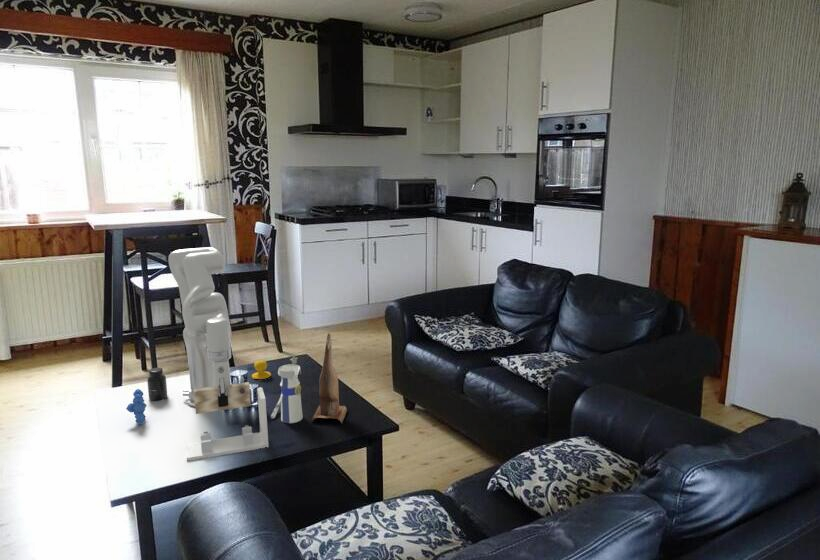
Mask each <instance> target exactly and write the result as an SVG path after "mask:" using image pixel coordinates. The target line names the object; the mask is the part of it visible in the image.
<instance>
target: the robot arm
mask: <svg viewBox="0 0 820 560" xmlns="http://www.w3.org/2000/svg"><path fill="white" fill-rule="evenodd" d="M167 262H168V267H169V269H170V272H171V275H172V276H173V279H174V280H175V282H176V284H177V286H178V290H179V296H180V301H181V306H182V308H181V309H182V311H181V313H182V319H183V322H184V329H183V331H182V337H183V341H184V343H185V348H186V353H187V361H188V362H187V364H188V372H189V373H188V374H189V383H190V384H189V385H190V389H189V388H184V389H183V391H182V396H183V397H188V399H187V404H188V405H189V406H190V407H194V408H195V396H194V389H199V388H206V387H214V386H216V389H218V395H219V396H218V405H219V407H224V406H228V394H227V389H226V388H230V387H231V384H232V383H231V370H230V369H231V368H230V361H229V360H230V359H231V358H232V347H231V344H232V343H231V339H232V328H231V323H230V322H231V321H230V317H229V310H228V307H227V302H226V298H225V297H224V295H223V294H222V293H220V292H217V291H216V292H215V288H216V287H215V283H214V281H213V280H214V279H213V276H212V275H216V274H223V273H224V271H225V269H226V261H225V258H224V256H223V254H222V253H221V251H219V250H218V249H217V248H214V247H212V246H208V247H207V246H206V247H205V246H204V247H195V248H193V247H192V248H183V249H181V248H180V249H176V250H174V251H172V252H170V254H169V255H168V261H167ZM219 386H220V387H219ZM226 386H227V387H226ZM224 389H225V390H224ZM220 390H221V391H220Z"/></svg>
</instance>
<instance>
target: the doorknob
mask: <svg viewBox="0 0 820 560" xmlns="http://www.w3.org/2000/svg"><path fill="white" fill-rule="evenodd" d="M253 368H254V369H255V370H256V371H257V372H254V373H252V374H251V379H252V378H253V379H252V380H254V379H265V378H268V377H270V376H271V377H272V373H271V372H270V371H266V369H267V368H268V363H267V361H265V360H264V359H260V360H257V361H255V362H254V364H253ZM271 377H270V378H271ZM268 379H269V378H268ZM265 380H266V379H265Z"/></svg>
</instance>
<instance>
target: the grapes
mask: <svg viewBox="0 0 820 560" xmlns="http://www.w3.org/2000/svg"><path fill="white" fill-rule="evenodd" d="M132 395H133V399H132V403H131V402H130V403H128V405H127V406H126V408H125V409H126V410H127V411H128V412H129V413H133V415H134V418H135V420H134V421H135V422H136V423H137V424H139V425H143V424H144V423H145V421H146V414H145V413H144V412H145V411H146V408H147V404H146V403H145V399H144V397H143V396H144V392H143V391H142V390H141V389H139V388H137V389H135V390H134V392H133V393H132Z"/></svg>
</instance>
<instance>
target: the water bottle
mask: <svg viewBox="0 0 820 560" xmlns="http://www.w3.org/2000/svg"><path fill="white" fill-rule="evenodd" d="M298 358H299V357H295V355H293V356H292V358H290V359H289V361H291V364H290V363H288V364H284V365H281V366H279V368H278V370H277V374H278V376H280V379H281V381H280V383H279V386H280V388H281V389H280V390H281V394H280V397H281V405H280V420H281V422H282V423H284V424H294V423H298V422H301V420H303V407H302V396H301V391H302V386H301V385H300V384H301V383H300V380H299V378H298V375H299V374H300V376H301V374H302V370H301V366H300V365H298V364H297V363H298V362H297V361H298Z"/></svg>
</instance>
